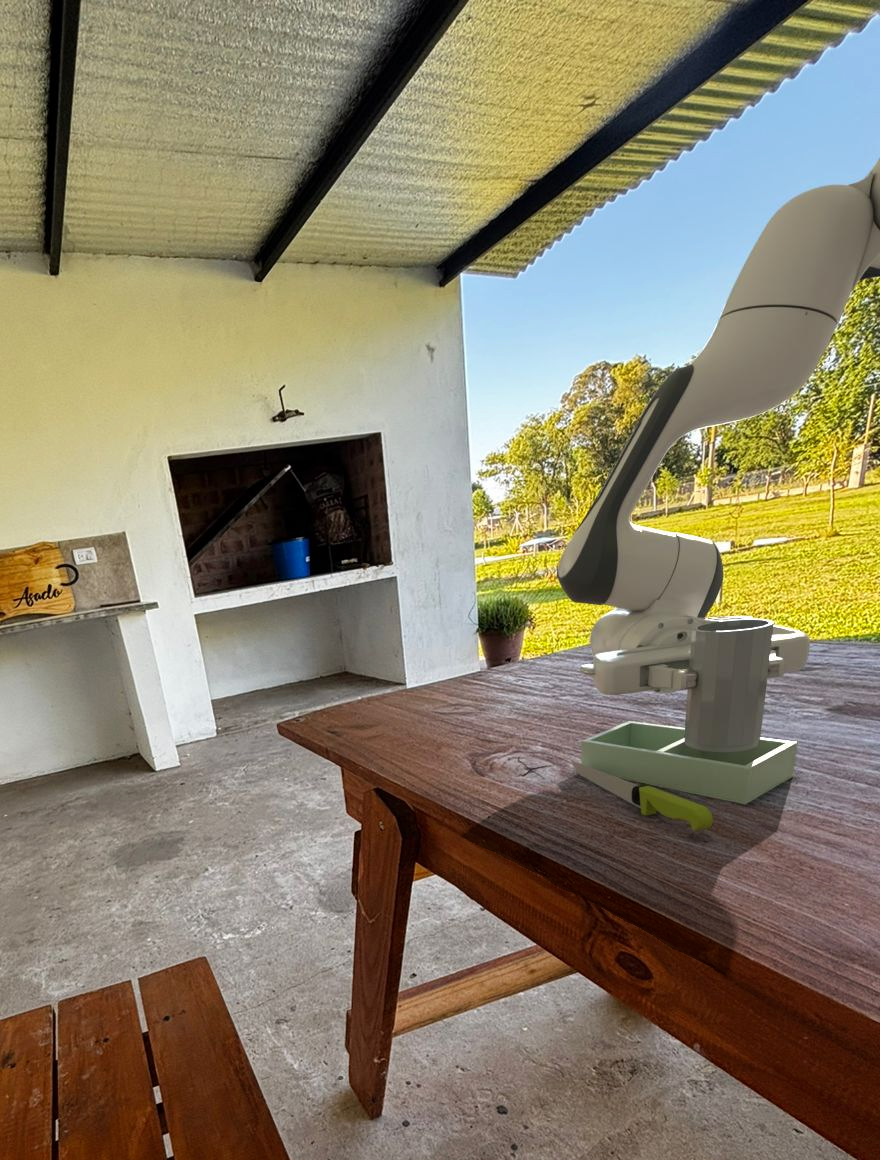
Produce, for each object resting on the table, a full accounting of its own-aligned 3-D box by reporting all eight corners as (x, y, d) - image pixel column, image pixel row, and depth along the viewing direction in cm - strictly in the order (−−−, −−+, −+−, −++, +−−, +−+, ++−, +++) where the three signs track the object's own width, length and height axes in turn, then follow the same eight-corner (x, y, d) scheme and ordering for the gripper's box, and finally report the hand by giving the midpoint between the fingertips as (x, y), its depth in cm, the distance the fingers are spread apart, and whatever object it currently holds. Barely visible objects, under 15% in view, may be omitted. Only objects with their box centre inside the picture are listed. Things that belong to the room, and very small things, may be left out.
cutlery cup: (705, 729, 68) (714, 619, 64) (772, 738, 62) (787, 618, 58) (671, 745, 65) (678, 631, 61) (738, 756, 60) (751, 631, 56)
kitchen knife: (567, 783, 75) (566, 760, 74) (577, 781, 75) (576, 758, 74) (700, 843, 54) (700, 811, 53) (713, 840, 54) (714, 808, 53)
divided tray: (628, 751, 78) (629, 720, 77) (793, 779, 63) (798, 741, 62) (581, 773, 74) (581, 741, 73) (744, 808, 60) (748, 768, 58)
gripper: (575, 641, 74) (621, 659, 61) (762, 612, 70) (853, 626, 58) (574, 692, 76) (619, 720, 63) (756, 667, 73) (842, 692, 60)
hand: (733, 675), depth 60 cm, fingers closed on cutlery cup, 6 cm apart
